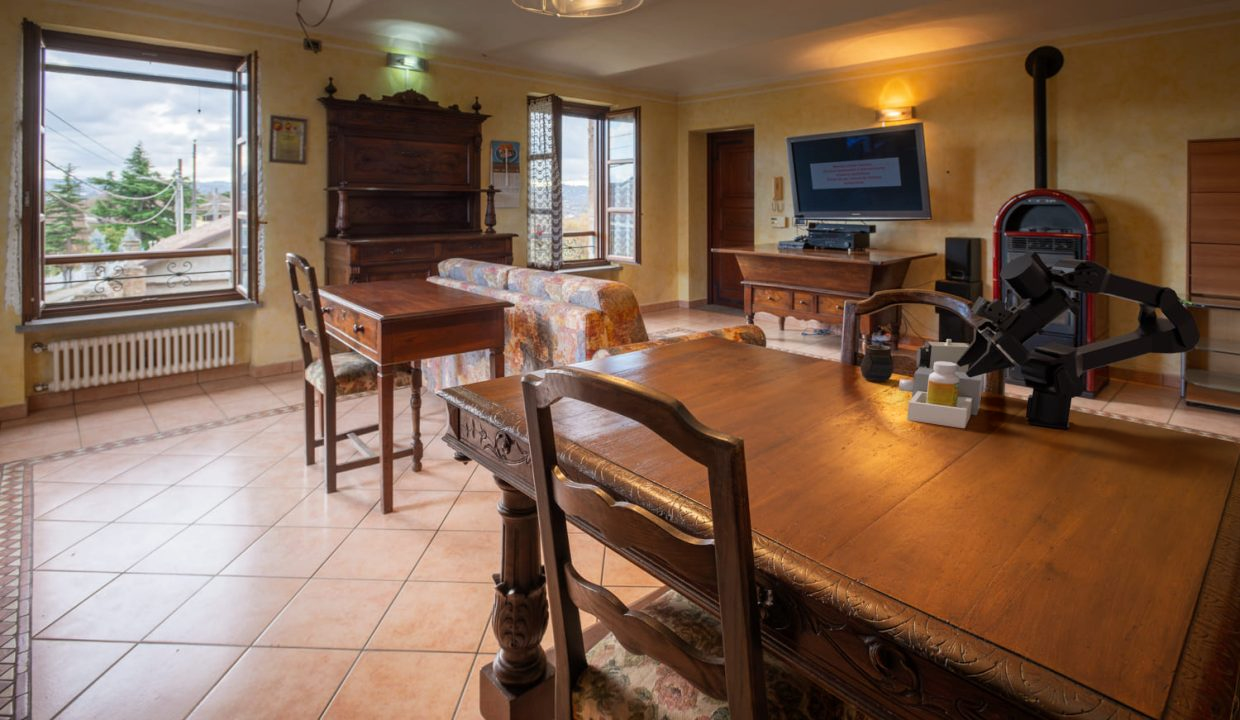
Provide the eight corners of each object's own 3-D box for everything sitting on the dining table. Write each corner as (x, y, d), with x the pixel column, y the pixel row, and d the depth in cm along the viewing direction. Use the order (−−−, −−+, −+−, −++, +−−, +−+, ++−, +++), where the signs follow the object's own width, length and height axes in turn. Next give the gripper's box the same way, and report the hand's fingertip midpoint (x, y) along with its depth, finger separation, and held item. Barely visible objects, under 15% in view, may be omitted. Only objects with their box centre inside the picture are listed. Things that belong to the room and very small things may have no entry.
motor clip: (979, 408, 142) (983, 374, 141) (970, 429, 128) (974, 392, 127) (901, 397, 150) (904, 365, 148) (885, 416, 136) (888, 381, 135)
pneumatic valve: (975, 397, 150) (981, 342, 148) (917, 394, 153) (922, 340, 150) (968, 390, 156) (974, 337, 153) (912, 387, 158) (917, 335, 156)
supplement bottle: (956, 417, 132) (962, 367, 130) (925, 414, 134) (930, 365, 132) (954, 410, 137) (960, 361, 135) (924, 407, 139) (929, 359, 137)
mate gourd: (887, 376, 169) (890, 336, 167) (897, 384, 161) (900, 341, 159) (856, 376, 169) (859, 335, 167) (865, 384, 162) (868, 341, 160)
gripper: (991, 277, 137) (925, 331, 142) (1016, 288, 119) (940, 348, 125) (1032, 319, 137) (964, 371, 142) (1063, 335, 119) (984, 394, 124)
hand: (962, 370), depth 133 cm, fingers open, 9 cm apart
